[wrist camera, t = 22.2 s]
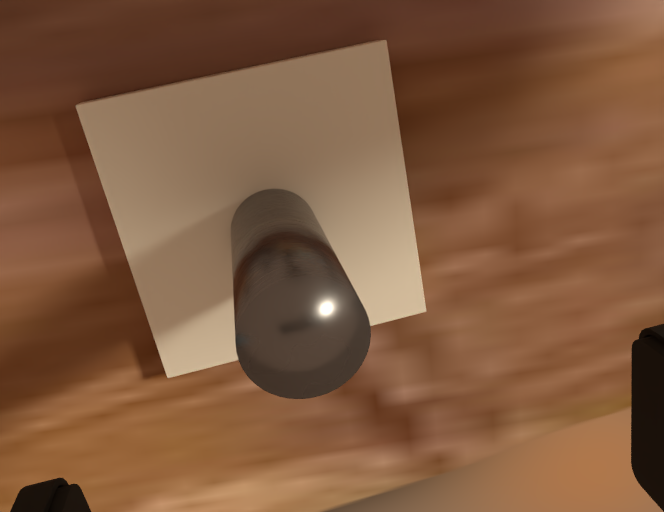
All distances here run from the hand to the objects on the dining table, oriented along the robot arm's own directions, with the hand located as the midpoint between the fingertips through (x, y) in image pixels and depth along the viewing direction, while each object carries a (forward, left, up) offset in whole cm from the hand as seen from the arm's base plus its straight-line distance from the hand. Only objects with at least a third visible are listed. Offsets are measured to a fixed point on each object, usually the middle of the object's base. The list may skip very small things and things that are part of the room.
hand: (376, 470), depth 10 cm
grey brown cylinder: (0, +1, -16) cm, 16 cm away
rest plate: (+1, 0, -18) cm, 18 cm away
